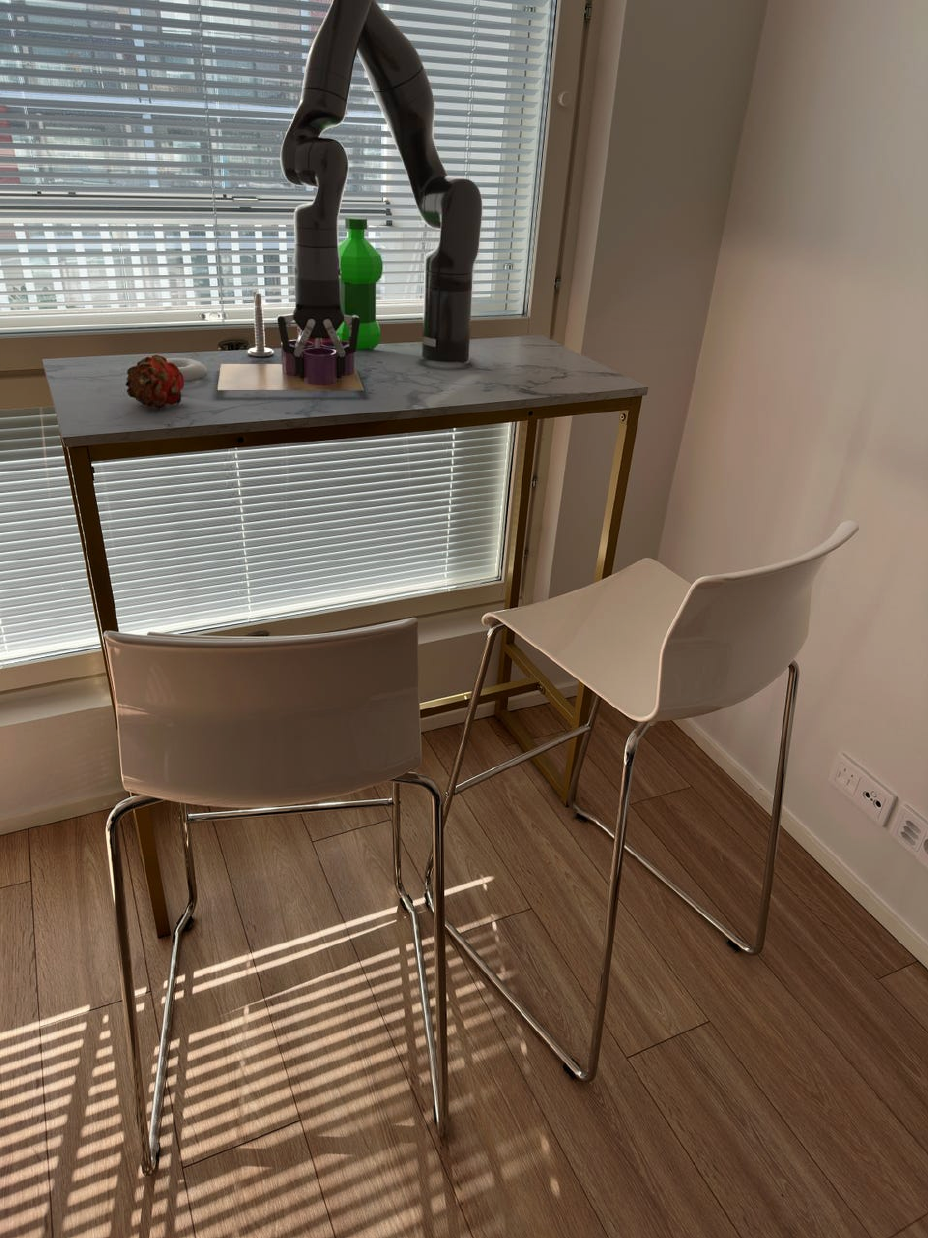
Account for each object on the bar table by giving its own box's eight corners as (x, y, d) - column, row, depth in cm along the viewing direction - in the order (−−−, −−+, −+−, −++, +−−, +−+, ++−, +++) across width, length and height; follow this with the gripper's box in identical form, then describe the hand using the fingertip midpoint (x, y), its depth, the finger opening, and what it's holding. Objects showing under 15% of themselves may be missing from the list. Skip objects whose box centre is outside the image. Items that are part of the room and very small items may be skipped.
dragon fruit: (153, 427, 138) (155, 416, 149) (196, 393, 138) (196, 384, 149) (113, 382, 134) (118, 374, 145) (157, 346, 134) (159, 341, 145)
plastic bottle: (321, 352, 180) (317, 216, 168) (352, 344, 189) (350, 214, 177) (362, 360, 176) (361, 222, 164) (391, 351, 184) (393, 218, 172)
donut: (185, 393, 150) (218, 379, 158) (183, 373, 149) (216, 359, 157) (135, 385, 153) (170, 372, 161) (132, 365, 151) (167, 352, 159)
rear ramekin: (293, 366, 163) (292, 338, 161) (321, 370, 162) (320, 342, 159) (276, 373, 159) (274, 344, 156) (305, 377, 157) (304, 348, 154)
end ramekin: (331, 366, 165) (330, 338, 162) (359, 371, 163) (359, 342, 161) (315, 373, 160) (314, 344, 157) (344, 377, 158) (343, 348, 156)
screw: (269, 366, 169) (244, 364, 169) (277, 360, 173) (253, 358, 173) (265, 293, 162) (239, 291, 163) (274, 289, 167) (248, 287, 167)
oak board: (354, 372, 168) (353, 364, 167) (363, 398, 153) (363, 389, 152) (221, 372, 163) (220, 363, 163) (218, 399, 148) (217, 389, 147)
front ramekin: (314, 374, 159) (313, 345, 157) (343, 379, 157) (342, 350, 155) (297, 381, 154) (295, 352, 152) (326, 386, 152) (326, 356, 150)
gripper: (359, 272, 152) (359, 372, 160) (272, 269, 149) (277, 372, 157) (363, 279, 146) (363, 383, 154) (273, 277, 143) (278, 383, 151)
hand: (320, 377), depth 155 cm, fingers closed on front ramekin, 6 cm apart
